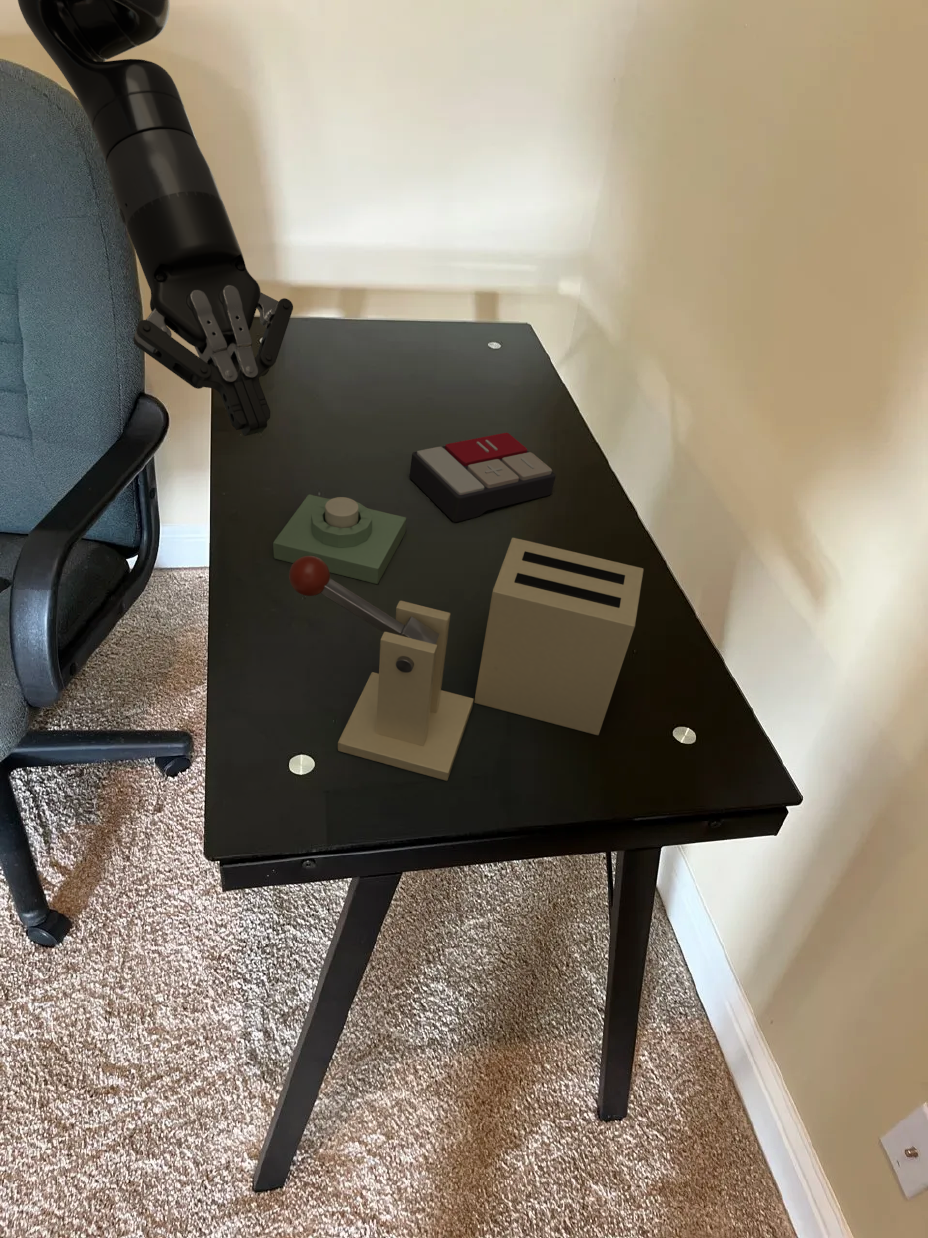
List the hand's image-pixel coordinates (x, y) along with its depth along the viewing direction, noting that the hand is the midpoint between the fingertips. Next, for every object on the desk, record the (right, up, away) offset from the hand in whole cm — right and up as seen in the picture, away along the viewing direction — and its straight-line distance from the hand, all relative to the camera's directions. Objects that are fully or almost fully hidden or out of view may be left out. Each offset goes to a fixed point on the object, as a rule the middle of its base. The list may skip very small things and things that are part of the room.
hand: (256, 430), depth 64 cm
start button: (+3, -4, +27) cm, 27 cm away
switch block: (+2, -6, +29) cm, 30 cm away
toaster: (+24, -22, +16) cm, 36 cm away
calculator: (+18, +2, +41) cm, 45 cm away
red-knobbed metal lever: (+7, -15, +3) cm, 17 cm away
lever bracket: (+11, -25, +10) cm, 29 cm away
